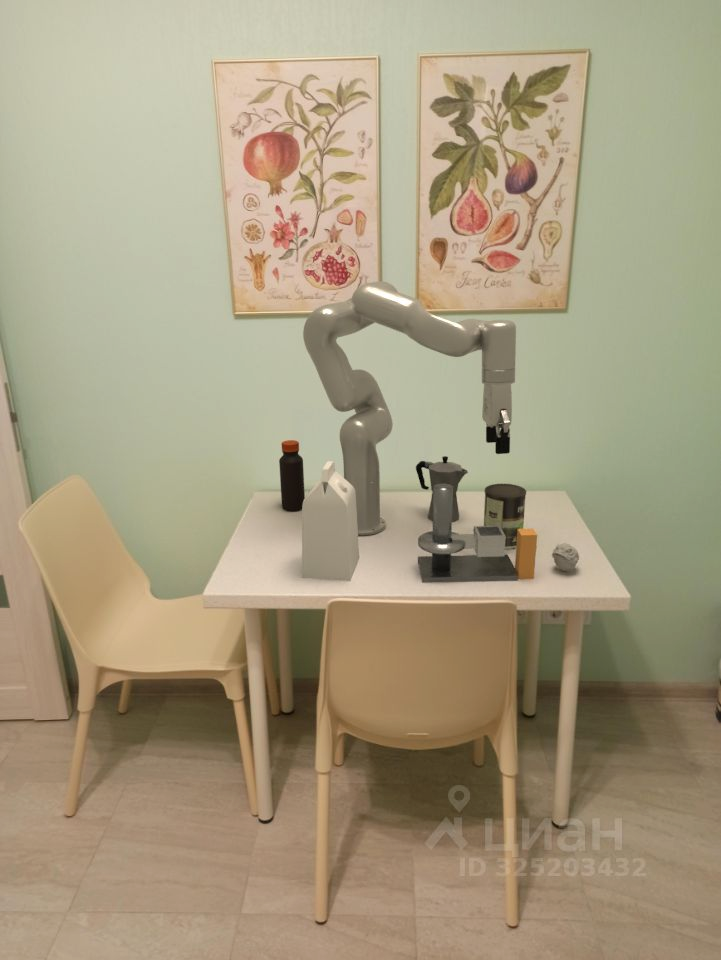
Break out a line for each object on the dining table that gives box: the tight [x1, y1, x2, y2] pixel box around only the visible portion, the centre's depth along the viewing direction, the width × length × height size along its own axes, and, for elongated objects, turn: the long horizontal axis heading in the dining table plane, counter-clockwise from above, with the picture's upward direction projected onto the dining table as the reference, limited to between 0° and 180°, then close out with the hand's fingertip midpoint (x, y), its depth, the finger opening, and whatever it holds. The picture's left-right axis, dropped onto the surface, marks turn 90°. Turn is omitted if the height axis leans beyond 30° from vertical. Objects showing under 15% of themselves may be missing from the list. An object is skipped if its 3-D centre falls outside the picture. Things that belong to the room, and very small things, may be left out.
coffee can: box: [483, 483, 527, 550], centre depth 174 cm, size 10×10×14 cm
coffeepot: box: [415, 455, 469, 524], centre depth 189 cm, size 15×9×18 cm, turn 59°
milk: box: [301, 460, 360, 582], centre depth 159 cm, size 12×12×26 cm
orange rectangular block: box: [514, 528, 538, 580], centre depth 157 cm, size 4×4×11 cm
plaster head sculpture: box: [551, 542, 580, 572], centre depth 159 cm, size 6×7×7 cm
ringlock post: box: [417, 484, 519, 583], centre depth 158 cm, size 22×11×21 cm, turn 91°
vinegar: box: [278, 439, 306, 512], centre depth 197 cm, size 7×7×20 cm
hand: (497, 447), depth 162 cm, fingers open, 9 cm apart
